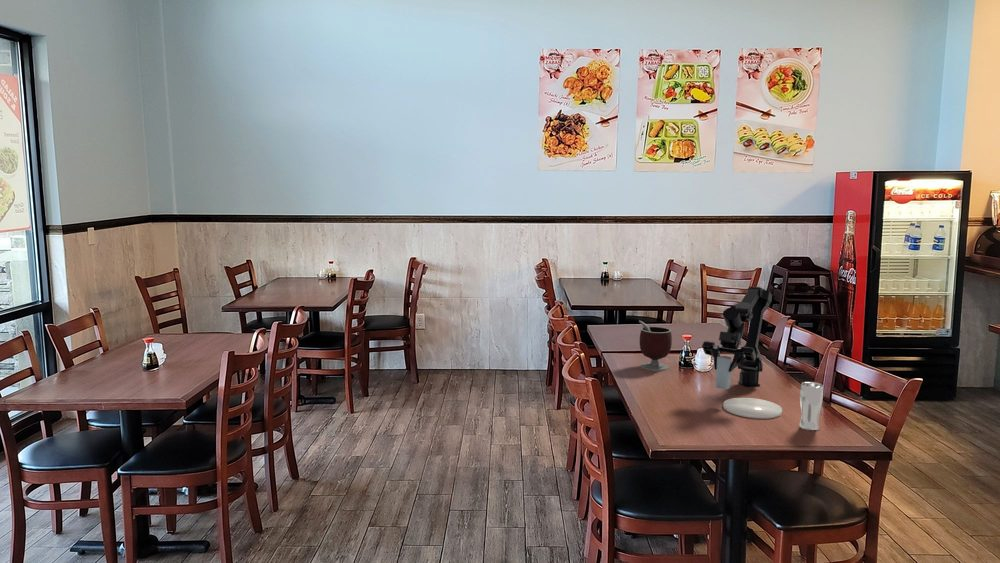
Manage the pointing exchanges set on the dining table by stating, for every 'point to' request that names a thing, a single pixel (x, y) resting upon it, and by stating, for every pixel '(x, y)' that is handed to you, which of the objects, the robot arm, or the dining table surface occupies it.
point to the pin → (723, 372)
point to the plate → (752, 408)
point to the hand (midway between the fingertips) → (722, 370)
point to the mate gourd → (655, 346)
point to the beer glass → (810, 405)
